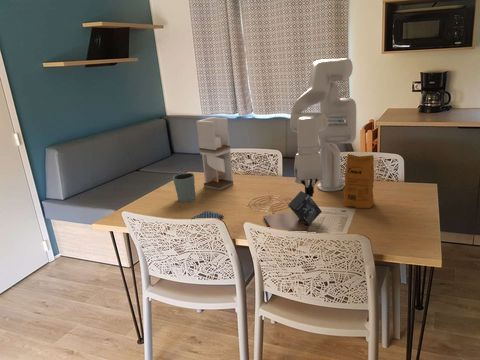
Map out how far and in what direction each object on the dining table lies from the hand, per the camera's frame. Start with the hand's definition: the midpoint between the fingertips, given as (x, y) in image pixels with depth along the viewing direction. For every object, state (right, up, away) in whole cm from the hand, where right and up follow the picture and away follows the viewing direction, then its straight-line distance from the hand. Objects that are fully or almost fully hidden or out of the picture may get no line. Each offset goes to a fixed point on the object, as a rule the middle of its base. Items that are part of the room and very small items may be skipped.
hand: (309, 195), depth 156 cm
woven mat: (-40, -11, +14) cm, 44 cm away
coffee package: (+24, -5, +16) cm, 29 cm away
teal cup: (-53, -4, +40) cm, 67 cm away
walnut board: (-9, -12, +2) cm, 15 cm away
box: (+1, -8, +2) cm, 9 cm away
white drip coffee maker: (-38, +3, +56) cm, 68 cm away
